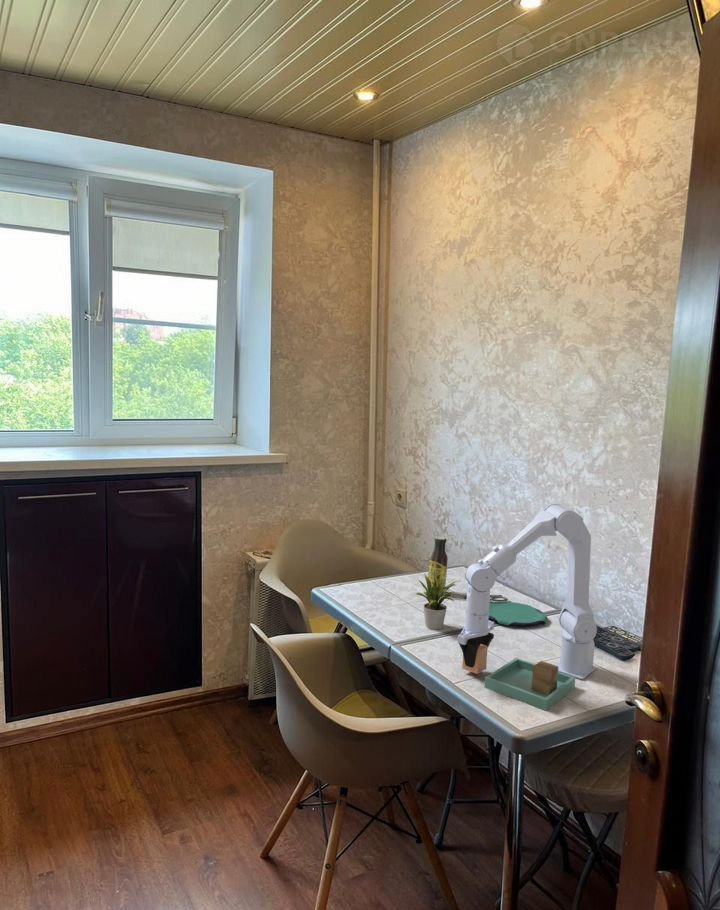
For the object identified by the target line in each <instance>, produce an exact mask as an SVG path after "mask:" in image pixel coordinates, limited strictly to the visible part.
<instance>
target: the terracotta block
mask: <svg viewBox="0 0 720 910" xmlns="http://www.w3.org/2000/svg"><path fill="white" fill-rule="evenodd" d="M487 647H488V646H486V645H483V644H480V646H479V648H478V650H477V654H476V659H475V664H474V667H473V668H471V667H468V666H466V665H465V661H464V656H463V655H462V663H461V664H462V667H461V668H462V669H463V670H465V671H467V672H468V671H469V672H470V673H474V674H475V675H478V674H480V673H482V672H483V671H485V670H486V669H487V663H488V662H487V661H488V649H487ZM488 648H489V647H488Z"/></svg>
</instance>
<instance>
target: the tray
mask: <svg viewBox="0 0 720 910" xmlns="http://www.w3.org/2000/svg"><path fill="white" fill-rule="evenodd" d="M536 664H537V663H533V662H531V661H528V660H525V659H521V658H518V657H515V658H514V659H512V660H510V661H509V662H507V663H505V664H504V665H502V666H501V667H499V668H498V669H496V670H494V671H493V672H491V673H490V674H488V675H487V676H485V677H484V688H485V689H488V690H490V691H493V692H496V693H499V694H501V695H503V696H507V697H509V698H511V699H514V700H517V701H519V702H522V703H524V704H527V705H530V706H533V707H535V708H538V709H540V710H543V711H548V710H549V709H550V708H551V707H552V706H554V705H555V704H556V703H557V702H559V701H560V700H562V699H563V697H565V696H566V695H568V693H569V692H571V691H572V690H573V689H575V686H576V685H575V684H576V677H573V676H570V675H567V674H564V673H561V672H558V678H557V689H556V690H555V691H553V692H552V693H551V694H549V695H548V696H546V695H544V694H541V693H538V692H536V691H533V690H531V688H532V675H533V666H534V665H536Z"/></svg>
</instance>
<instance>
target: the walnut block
mask: <svg viewBox="0 0 720 910" xmlns="http://www.w3.org/2000/svg"><path fill="white" fill-rule="evenodd" d="M535 664H536V665H534V666H533V675H532V688H531V690H533V691H536V692H538V693H541V694H544V695H546V696H548V695H549V694H551V693H552V692H553V691H555V690H556V689H557V678H558V666H557V664H556V665H555V664H552V663H550V662H546V661H543V660H541V661H538V662H537V663H535Z"/></svg>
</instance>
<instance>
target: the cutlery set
mask: <svg viewBox="0 0 720 910" xmlns="http://www.w3.org/2000/svg"><path fill="white" fill-rule="evenodd" d="M463 599H467V594H466V595H463ZM489 619H490V620H493V621H494V622H495V621H496V622H497V623H498V624H500V625H505V626H509V625H516V626H532V625H537V624H540V623H542V622H544V624H546V623H547V622H548V616H547V615H546V614H545V613H544V612H543V611H541V610H540V609H537V608H535V607H533V606H532V605H529V604H526V603H521V602H520V603H519V602H516V601H512V600H508V597H505V596H503V595H502V594H490V603H489Z"/></svg>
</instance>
